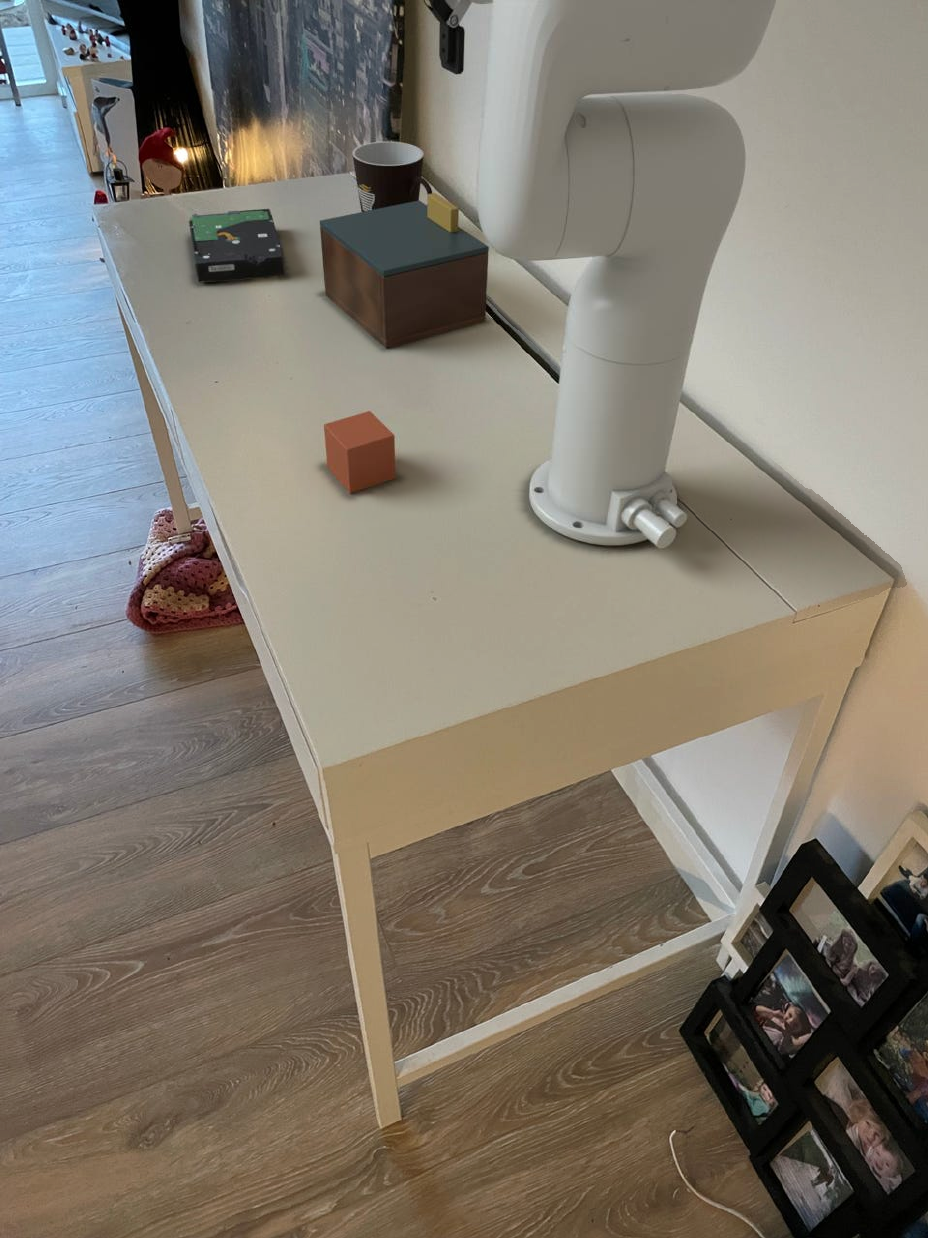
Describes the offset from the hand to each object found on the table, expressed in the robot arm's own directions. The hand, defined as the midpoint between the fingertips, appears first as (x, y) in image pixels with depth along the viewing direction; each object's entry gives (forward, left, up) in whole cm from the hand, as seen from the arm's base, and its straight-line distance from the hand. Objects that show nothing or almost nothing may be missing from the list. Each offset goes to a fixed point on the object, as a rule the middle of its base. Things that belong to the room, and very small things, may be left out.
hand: (493, 63), depth 94 cm
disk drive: (+22, +22, -24) cm, 39 cm away
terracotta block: (-26, +30, -24) cm, 46 cm away
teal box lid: (0, +11, -16) cm, 19 cm away
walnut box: (0, +11, -24) cm, 26 cm away
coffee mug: (+17, +3, -24) cm, 29 cm away
